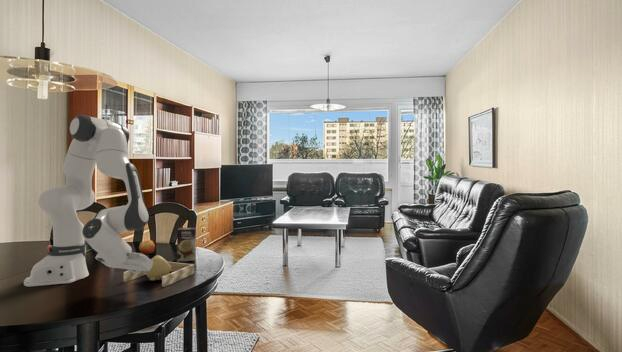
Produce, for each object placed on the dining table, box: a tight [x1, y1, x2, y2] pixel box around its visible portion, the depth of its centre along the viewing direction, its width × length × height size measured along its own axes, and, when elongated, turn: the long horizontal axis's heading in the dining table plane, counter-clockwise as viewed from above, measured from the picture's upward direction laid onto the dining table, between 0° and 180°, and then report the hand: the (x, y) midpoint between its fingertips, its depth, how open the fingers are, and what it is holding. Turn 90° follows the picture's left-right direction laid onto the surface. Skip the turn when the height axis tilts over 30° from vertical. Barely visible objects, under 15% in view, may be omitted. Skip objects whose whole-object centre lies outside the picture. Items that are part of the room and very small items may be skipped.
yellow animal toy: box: [145, 254, 172, 282], centre depth 154 cm, size 10×12×11 cm
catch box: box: [123, 261, 196, 288], centre depth 157 cm, size 20×20×4 cm
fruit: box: [138, 239, 156, 255], centre depth 201 cm, size 8×8×8 cm
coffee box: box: [176, 227, 197, 263], centre depth 187 cm, size 9×6×16 cm
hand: (137, 271), depth 145 cm, fingers closed
